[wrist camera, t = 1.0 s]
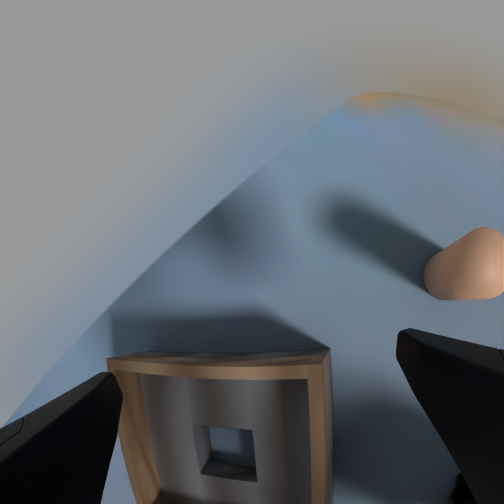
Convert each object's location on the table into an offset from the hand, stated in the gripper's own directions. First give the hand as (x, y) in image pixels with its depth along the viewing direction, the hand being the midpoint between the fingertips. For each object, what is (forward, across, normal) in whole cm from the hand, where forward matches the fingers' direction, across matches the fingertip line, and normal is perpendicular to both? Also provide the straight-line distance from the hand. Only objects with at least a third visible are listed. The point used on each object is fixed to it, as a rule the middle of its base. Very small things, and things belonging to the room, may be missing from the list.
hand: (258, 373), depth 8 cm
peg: (+9, -14, +2) cm, 17 cm away
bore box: (+10, +3, +14) cm, 18 cm away
